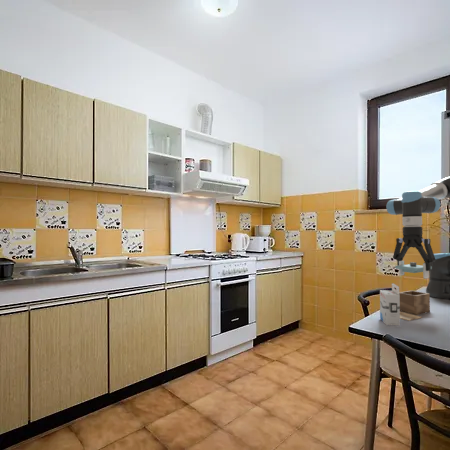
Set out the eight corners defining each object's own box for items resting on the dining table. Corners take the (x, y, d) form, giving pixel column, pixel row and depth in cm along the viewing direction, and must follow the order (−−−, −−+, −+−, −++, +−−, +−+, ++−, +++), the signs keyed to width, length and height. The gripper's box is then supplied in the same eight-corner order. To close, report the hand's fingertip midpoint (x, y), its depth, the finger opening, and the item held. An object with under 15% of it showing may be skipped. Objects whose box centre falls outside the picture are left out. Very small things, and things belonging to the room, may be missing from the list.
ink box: (379, 318, 125) (379, 282, 126) (392, 319, 124) (392, 282, 125) (386, 325, 117) (385, 286, 117) (400, 326, 116) (399, 286, 116)
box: (411, 307, 142) (411, 290, 142) (429, 311, 135) (429, 293, 135) (398, 310, 137) (397, 292, 138) (416, 315, 130) (415, 296, 130)
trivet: (400, 312, 134) (400, 311, 134) (421, 317, 126) (421, 316, 126) (387, 315, 130) (387, 314, 130) (408, 320, 122) (408, 319, 122)
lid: (409, 269, 143) (408, 260, 143) (431, 271, 134) (431, 262, 135) (395, 271, 139) (395, 262, 139) (418, 273, 130) (417, 264, 130)
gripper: (383, 226, 145) (384, 274, 145) (434, 226, 125) (436, 281, 125) (393, 226, 149) (394, 272, 148) (444, 225, 129) (446, 279, 128)
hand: (413, 276), depth 137 cm, fingers closed on lid, 10 cm apart
